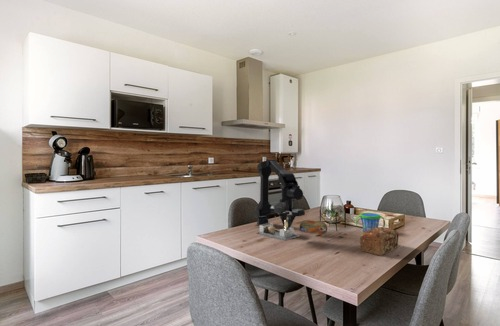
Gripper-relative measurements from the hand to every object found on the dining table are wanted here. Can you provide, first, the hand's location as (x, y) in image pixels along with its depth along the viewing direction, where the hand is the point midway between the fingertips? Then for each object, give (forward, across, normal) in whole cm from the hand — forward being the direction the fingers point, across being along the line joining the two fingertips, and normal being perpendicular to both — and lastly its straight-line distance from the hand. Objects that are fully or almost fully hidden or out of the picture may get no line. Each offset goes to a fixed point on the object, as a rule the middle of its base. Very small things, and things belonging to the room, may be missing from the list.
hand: (286, 227), depth 149 cm
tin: (+7, +5, +17) cm, 19 cm away
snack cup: (+7, +24, +46) cm, 52 cm away
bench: (+6, -6, 0) cm, 9 cm away
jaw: (+5, 0, 0) cm, 5 cm away
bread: (+7, +40, +19) cm, 45 cm away
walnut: (+5, -11, 0) cm, 12 cm away
